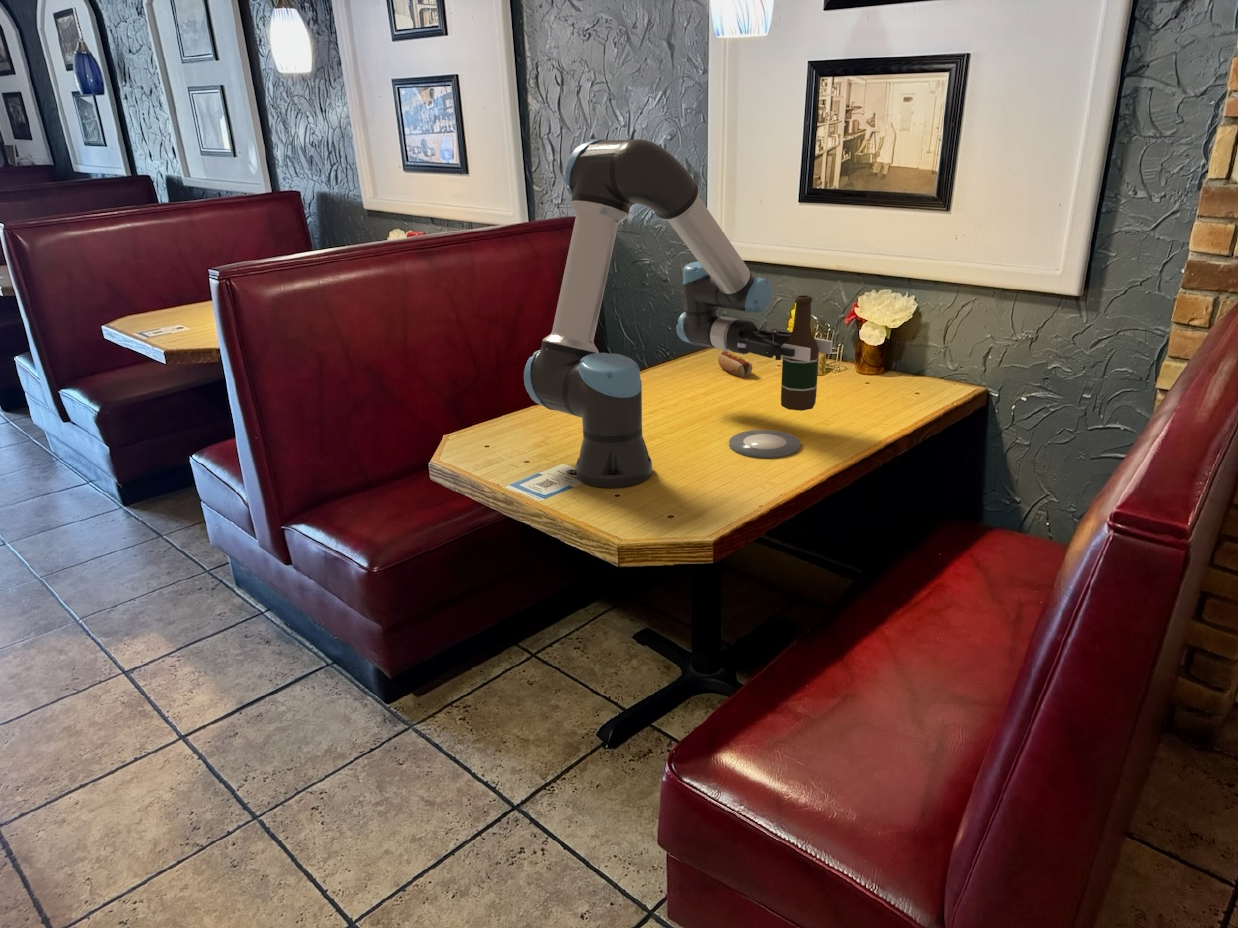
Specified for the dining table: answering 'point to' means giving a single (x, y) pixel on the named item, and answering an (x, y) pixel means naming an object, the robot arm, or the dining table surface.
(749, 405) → the dining table surface
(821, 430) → the dining table surface
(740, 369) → the food
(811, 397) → the beer bottle
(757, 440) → the slate coaster
